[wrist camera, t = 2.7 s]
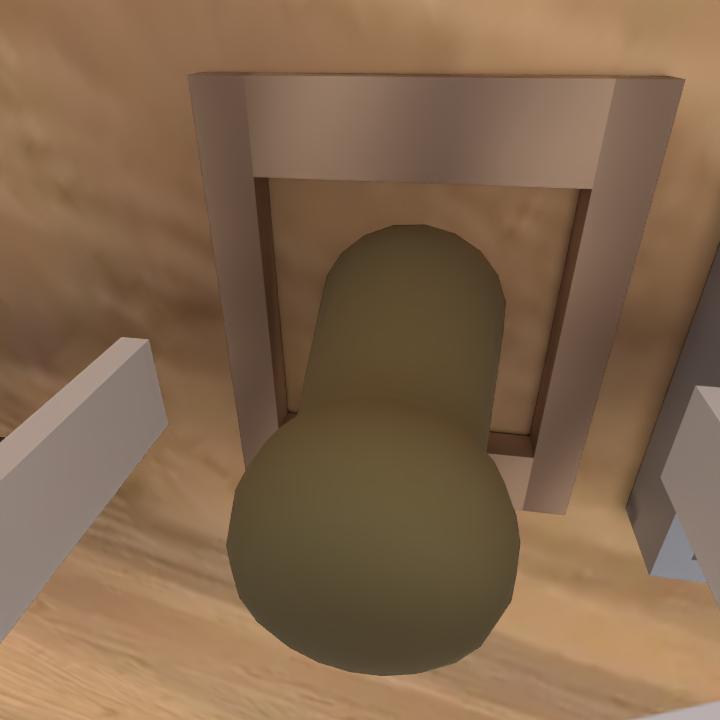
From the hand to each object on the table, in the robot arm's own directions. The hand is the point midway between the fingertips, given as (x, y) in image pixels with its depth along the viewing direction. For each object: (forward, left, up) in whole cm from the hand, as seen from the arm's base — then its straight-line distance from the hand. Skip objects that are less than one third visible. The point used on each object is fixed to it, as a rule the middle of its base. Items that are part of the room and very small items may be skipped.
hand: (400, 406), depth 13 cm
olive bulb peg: (0, 0, -5) cm, 5 cm away
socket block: (0, 0, -5) cm, 5 cm away
